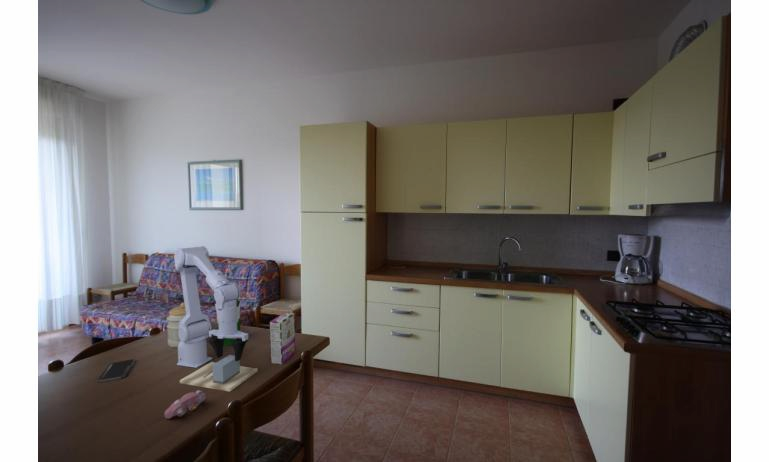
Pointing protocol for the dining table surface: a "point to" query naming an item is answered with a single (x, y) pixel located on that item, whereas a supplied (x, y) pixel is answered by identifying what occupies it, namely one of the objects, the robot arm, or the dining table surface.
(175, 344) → the jar
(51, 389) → the dining table surface
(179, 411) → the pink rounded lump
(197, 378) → the marked board
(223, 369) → the block
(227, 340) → the milk carton
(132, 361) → the phone
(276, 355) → the candy bar box
